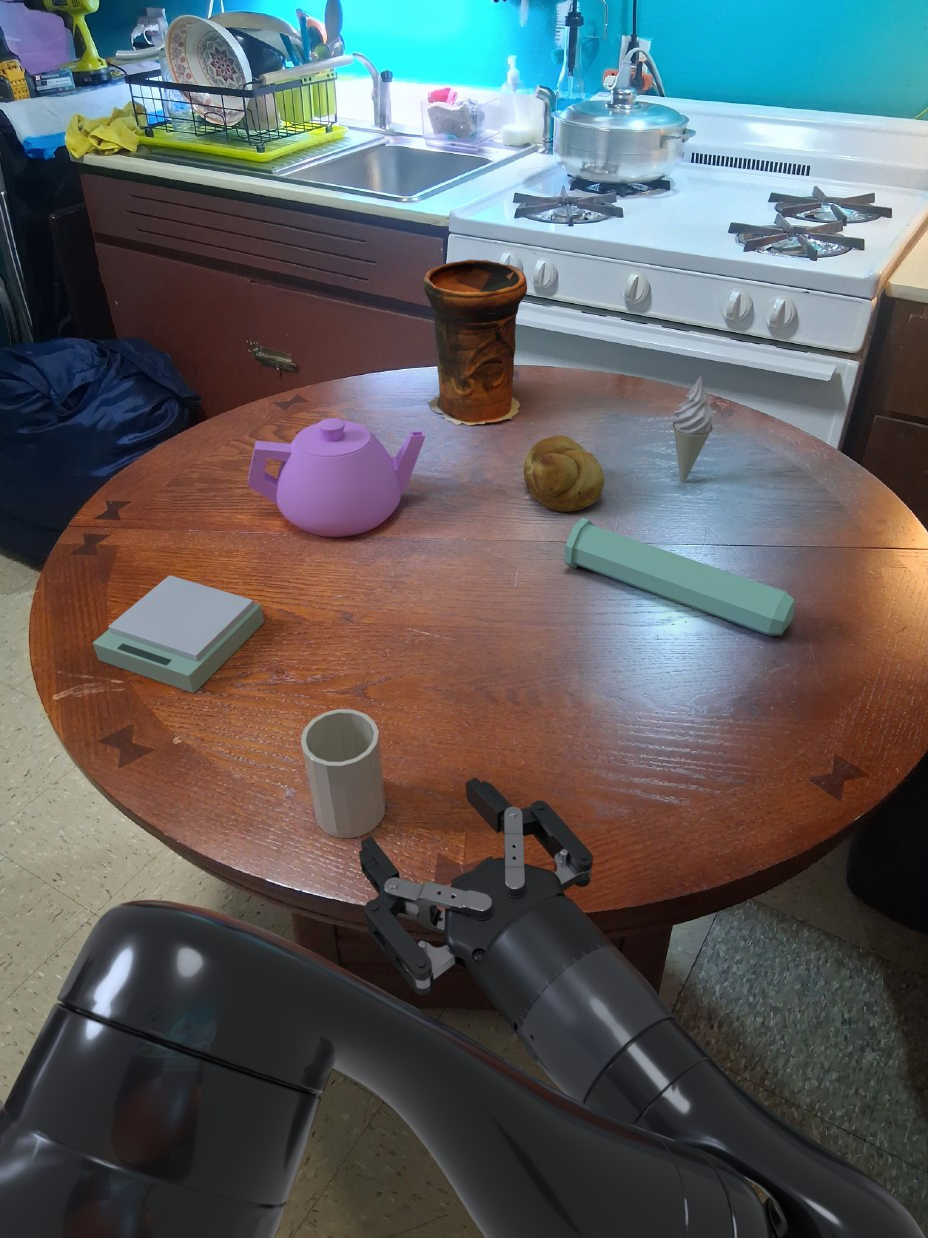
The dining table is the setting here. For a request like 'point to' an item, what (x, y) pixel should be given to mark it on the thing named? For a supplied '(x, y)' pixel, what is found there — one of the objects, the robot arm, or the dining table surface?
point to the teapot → (335, 477)
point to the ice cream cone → (692, 428)
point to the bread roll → (563, 474)
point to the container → (680, 579)
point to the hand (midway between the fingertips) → (419, 815)
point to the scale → (179, 633)
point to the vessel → (475, 338)
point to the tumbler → (344, 772)
